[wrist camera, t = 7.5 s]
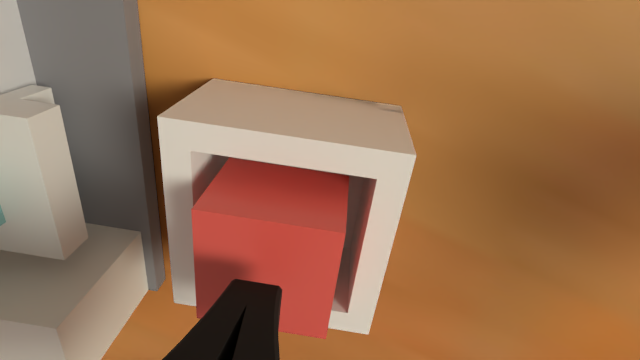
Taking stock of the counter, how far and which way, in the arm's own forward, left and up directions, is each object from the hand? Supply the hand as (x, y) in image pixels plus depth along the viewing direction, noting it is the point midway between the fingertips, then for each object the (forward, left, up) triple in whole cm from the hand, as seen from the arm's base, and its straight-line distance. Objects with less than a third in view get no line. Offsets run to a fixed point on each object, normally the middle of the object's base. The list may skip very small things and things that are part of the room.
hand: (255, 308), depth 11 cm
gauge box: (0, 0, -8) cm, 8 cm away
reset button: (0, 0, -5) cm, 5 cm away
